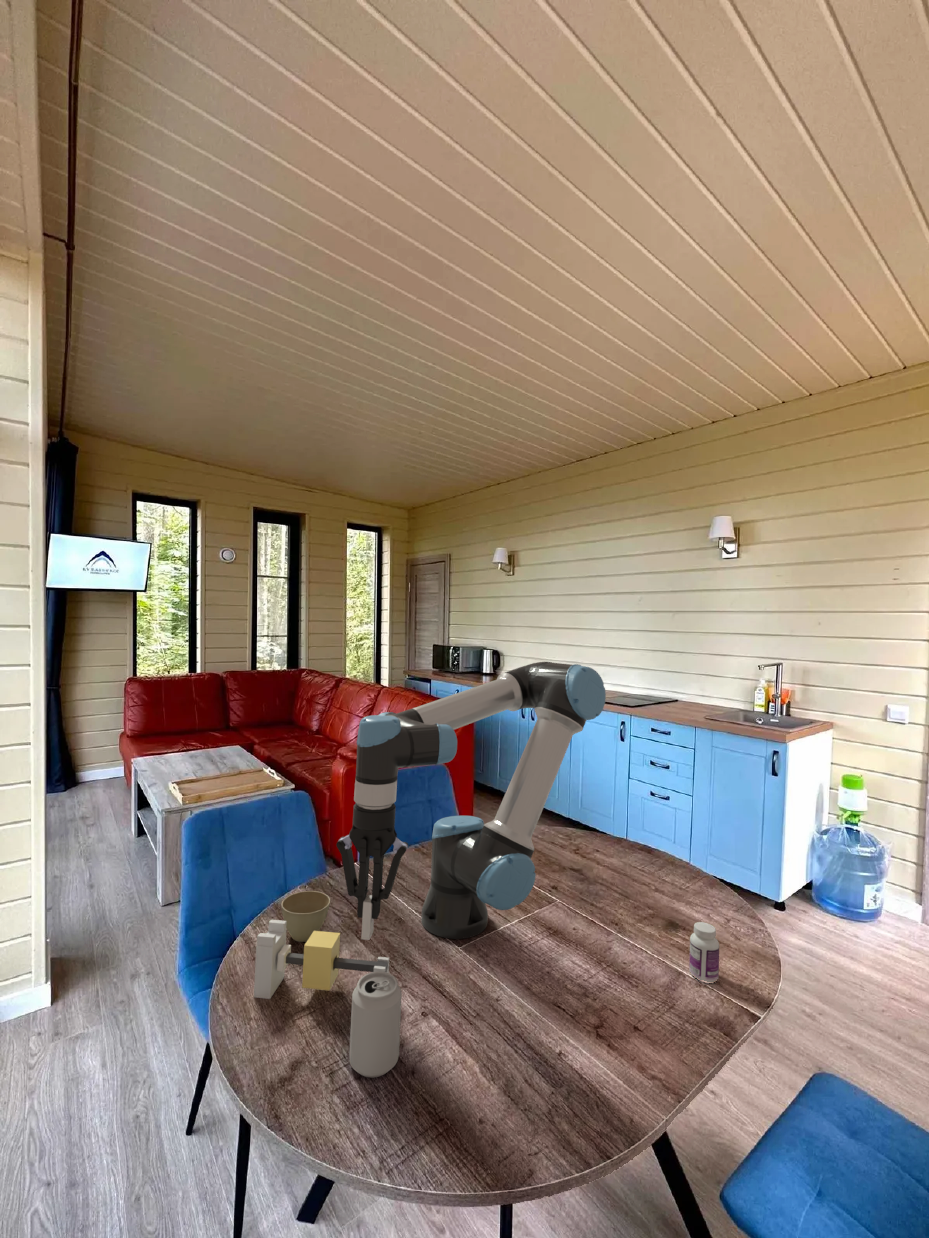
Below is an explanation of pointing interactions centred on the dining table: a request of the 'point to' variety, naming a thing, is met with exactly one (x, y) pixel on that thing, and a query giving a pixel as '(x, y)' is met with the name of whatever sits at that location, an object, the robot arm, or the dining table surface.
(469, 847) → the robot arm
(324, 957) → the sleeve
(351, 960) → the linear slide mechanism
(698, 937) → the pill bottle
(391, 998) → the can
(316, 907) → the flower pot
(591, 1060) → the dining table surface
